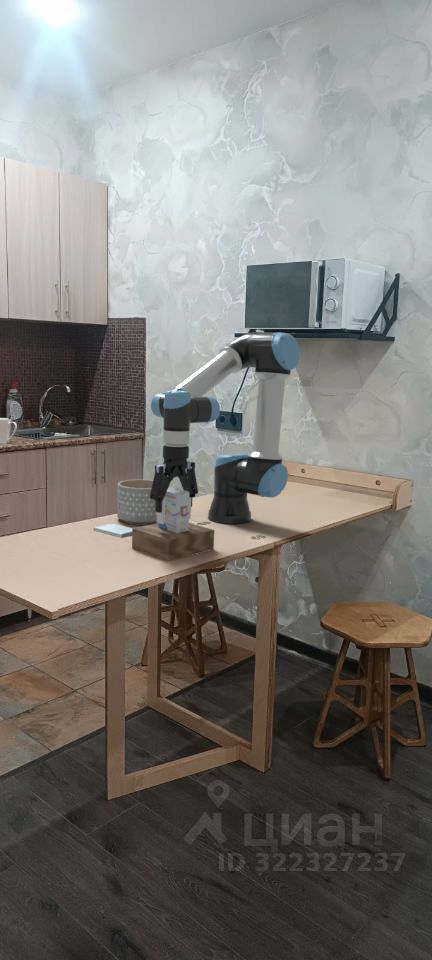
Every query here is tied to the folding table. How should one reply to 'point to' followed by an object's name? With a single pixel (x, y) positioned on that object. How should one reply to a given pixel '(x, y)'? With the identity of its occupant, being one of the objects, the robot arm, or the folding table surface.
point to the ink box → (176, 510)
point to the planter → (136, 502)
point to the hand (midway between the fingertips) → (173, 520)
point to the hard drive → (114, 530)
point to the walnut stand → (172, 541)
